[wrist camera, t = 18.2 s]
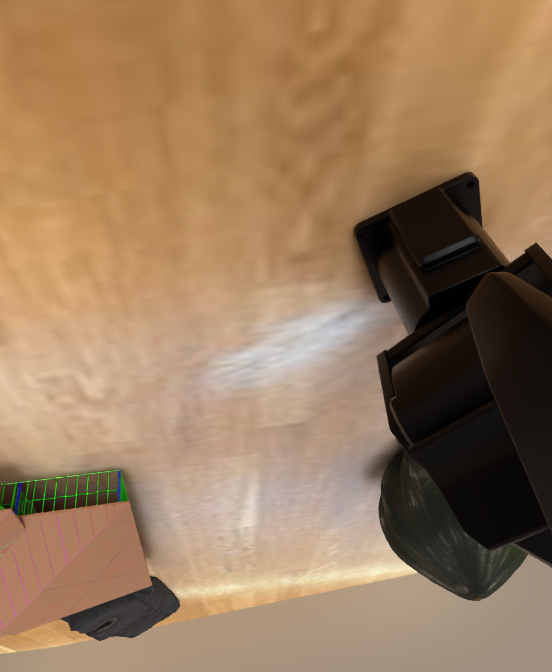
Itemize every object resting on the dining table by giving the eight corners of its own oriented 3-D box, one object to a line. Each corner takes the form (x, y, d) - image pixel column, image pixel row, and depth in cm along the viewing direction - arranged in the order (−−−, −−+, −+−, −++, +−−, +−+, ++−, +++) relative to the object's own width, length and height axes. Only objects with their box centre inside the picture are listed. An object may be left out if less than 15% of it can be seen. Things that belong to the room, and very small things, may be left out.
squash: (514, 509, 53) (592, 608, 39) (387, 540, 55) (416, 646, 40) (483, 396, 51) (554, 456, 36) (353, 433, 53) (370, 504, 38)
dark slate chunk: (95, 623, 78) (93, 656, 75) (35, 597, 61) (30, 639, 58) (185, 602, 79) (187, 634, 76) (150, 571, 62) (151, 610, 59)
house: (125, 448, 37) (124, 556, 31) (154, 566, 61) (155, 638, 56) (-226, 488, 31) (-296, 625, 26) (-41, 600, 56) (-59, 682, 51)
